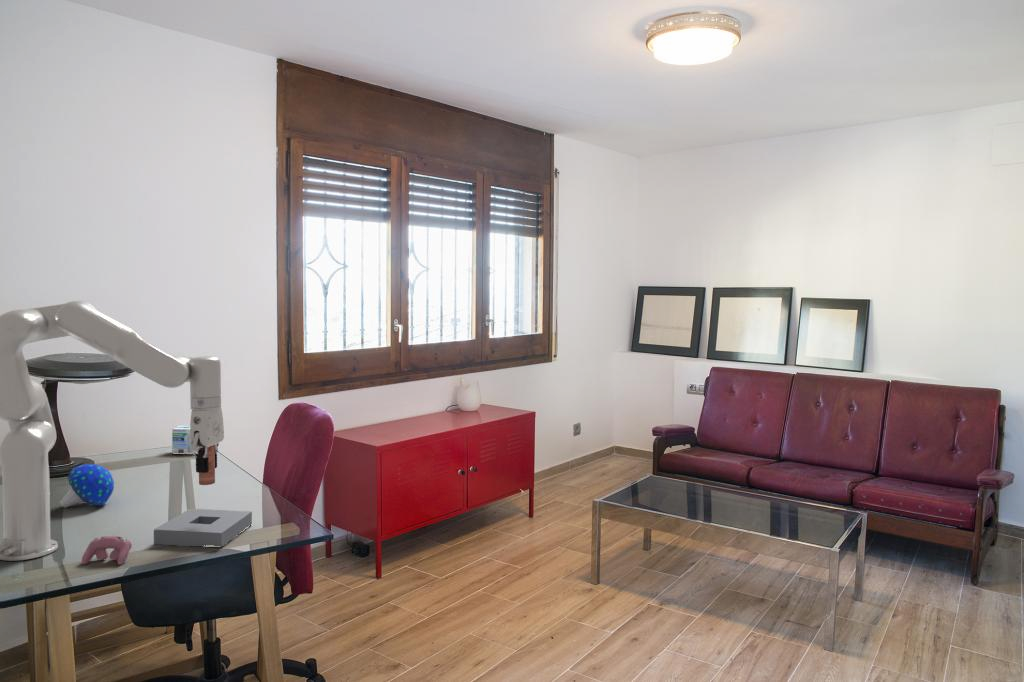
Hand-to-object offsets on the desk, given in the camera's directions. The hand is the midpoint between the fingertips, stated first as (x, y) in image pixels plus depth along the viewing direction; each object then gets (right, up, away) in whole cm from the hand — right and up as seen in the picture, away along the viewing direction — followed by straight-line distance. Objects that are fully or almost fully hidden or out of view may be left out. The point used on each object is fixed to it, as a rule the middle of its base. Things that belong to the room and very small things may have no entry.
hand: (206, 469), depth 186 cm
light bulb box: (-49, -11, +93) cm, 106 cm away
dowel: (0, -4, 0) cm, 4 cm away
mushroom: (-46, -15, +22) cm, 53 cm away
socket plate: (-1, -18, +1) cm, 18 cm away
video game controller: (-16, -19, -19) cm, 31 cm away
